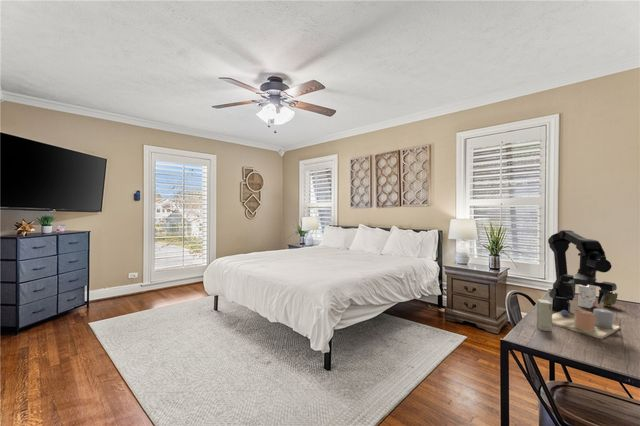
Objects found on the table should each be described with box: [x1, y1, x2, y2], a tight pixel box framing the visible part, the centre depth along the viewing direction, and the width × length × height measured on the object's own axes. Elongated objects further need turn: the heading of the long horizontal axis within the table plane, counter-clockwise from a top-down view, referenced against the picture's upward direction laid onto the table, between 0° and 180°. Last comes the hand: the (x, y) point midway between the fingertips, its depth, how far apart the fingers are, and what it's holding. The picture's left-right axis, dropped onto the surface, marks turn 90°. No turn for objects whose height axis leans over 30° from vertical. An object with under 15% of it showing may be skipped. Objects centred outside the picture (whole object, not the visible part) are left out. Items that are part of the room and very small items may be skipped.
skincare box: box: [536, 298, 553, 332], centre depth 131 cm, size 6×4×12 cm
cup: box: [601, 291, 618, 308], centre depth 163 cm, size 8×7×8 cm
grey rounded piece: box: [592, 307, 614, 329], centre depth 132 cm, size 6×6×7 cm
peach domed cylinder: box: [574, 309, 595, 331], centre depth 129 cm, size 6×6×7 cm
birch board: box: [552, 311, 621, 340], centre depth 136 cm, size 22×22×1 cm
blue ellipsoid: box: [561, 310, 570, 316], centre depth 144 cm, size 3×3×3 cm
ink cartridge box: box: [577, 280, 597, 309], centre depth 163 cm, size 9×5×15 cm, turn 117°
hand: (585, 300), depth 136 cm, fingers open, 9 cm apart
